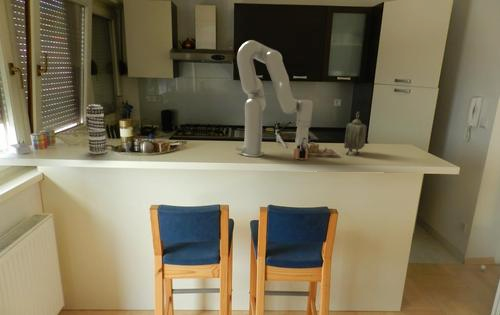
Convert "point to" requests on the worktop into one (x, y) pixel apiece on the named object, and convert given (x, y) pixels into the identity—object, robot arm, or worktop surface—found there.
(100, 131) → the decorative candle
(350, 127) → the tabletop clock
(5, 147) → the worktop surface
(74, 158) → the worktop surface
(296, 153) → the terracotta gear
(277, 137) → the caliper
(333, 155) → the gear board
